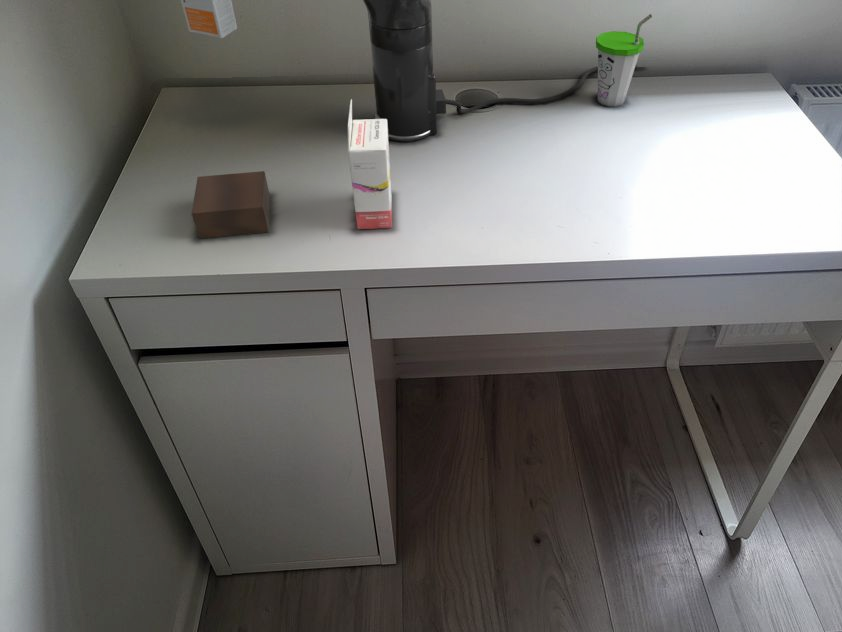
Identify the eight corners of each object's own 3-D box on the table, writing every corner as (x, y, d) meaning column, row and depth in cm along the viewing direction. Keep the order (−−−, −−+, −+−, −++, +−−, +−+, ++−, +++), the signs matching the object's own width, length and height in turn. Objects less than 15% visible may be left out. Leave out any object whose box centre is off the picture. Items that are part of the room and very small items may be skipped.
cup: (578, 98, 123) (589, 8, 113) (610, 86, 127) (624, -3, 116) (610, 115, 119) (625, 23, 108) (643, 103, 122) (660, 12, 112)
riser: (269, 195, 101) (264, 170, 98) (268, 232, 95) (262, 207, 92) (204, 201, 100) (197, 176, 97) (199, 238, 94) (191, 213, 91)
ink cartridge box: (393, 229, 96) (385, 127, 85) (356, 230, 95) (344, 129, 85) (393, 194, 102) (385, 95, 91) (358, 195, 101) (346, 96, 91)
